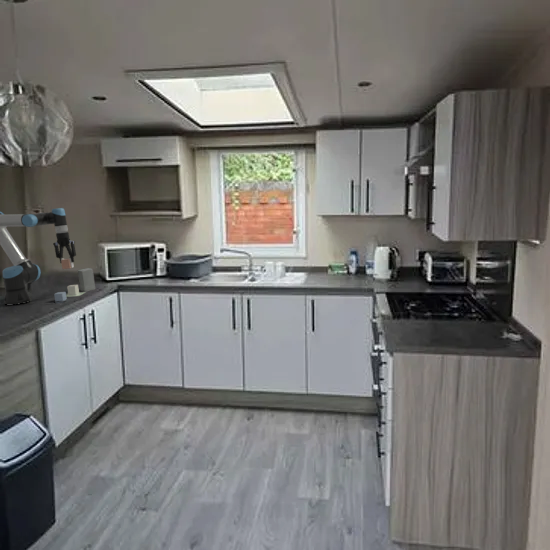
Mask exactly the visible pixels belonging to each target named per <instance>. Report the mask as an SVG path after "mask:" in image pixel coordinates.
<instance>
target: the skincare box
mask: <svg viewBox="0 0 550 550" xmlns="http://www.w3.org/2000/svg"><path fill="white" fill-rule="evenodd" d="M77 277H78V282H79V284H78V285H79V289H80V290H79V292H89V291H93V290H96V284H95V283H96V281H95V275H94V269H93V268H90V267H89V268H88V267H86V268H83V269H78V270H77Z"/></svg>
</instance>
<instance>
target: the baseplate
mask: <svg viewBox="0 0 550 550" xmlns="http://www.w3.org/2000/svg"><path fill="white" fill-rule="evenodd" d="M86 293H87V291H79V294H77V295H69V296H68V293H66V297H70V298H71V297H80V296H82V295H83V294H86Z"/></svg>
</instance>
